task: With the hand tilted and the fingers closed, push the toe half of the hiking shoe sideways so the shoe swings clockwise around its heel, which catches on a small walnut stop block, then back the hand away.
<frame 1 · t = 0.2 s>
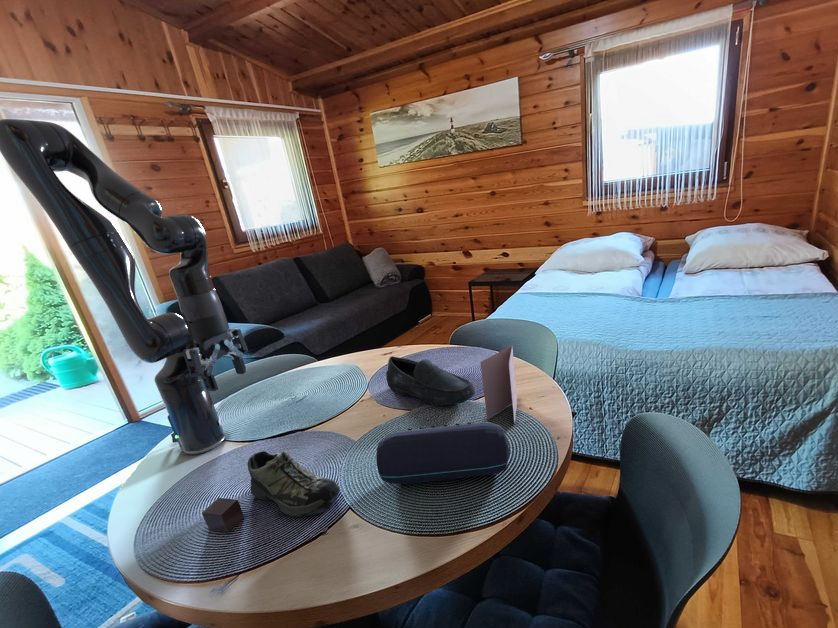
hand: (228, 381, 98), 17 cm above the table, tool pointing down, fingers open, 8 cm apart
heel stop: (227, 523, 79), on the table
portable speaker: (447, 474, 85), on the table
hiking shoe: (295, 498, 84), on the table
greeting card: (511, 413, 104), on the table
loafer: (429, 396, 118), on the table
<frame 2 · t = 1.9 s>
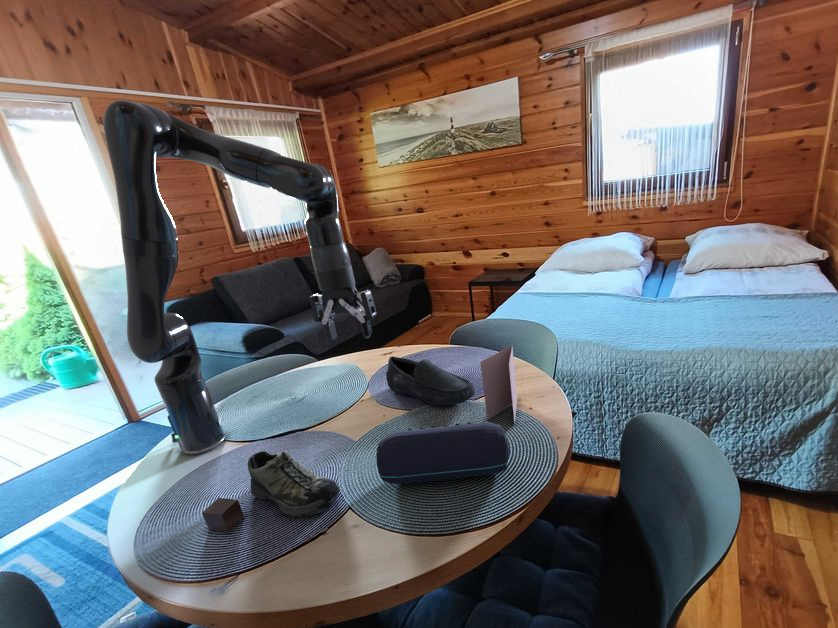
hand: (350, 338, 96), 23 cm above the table, tool pointing down, fingers open, 8 cm apart
nothing on the table moved.
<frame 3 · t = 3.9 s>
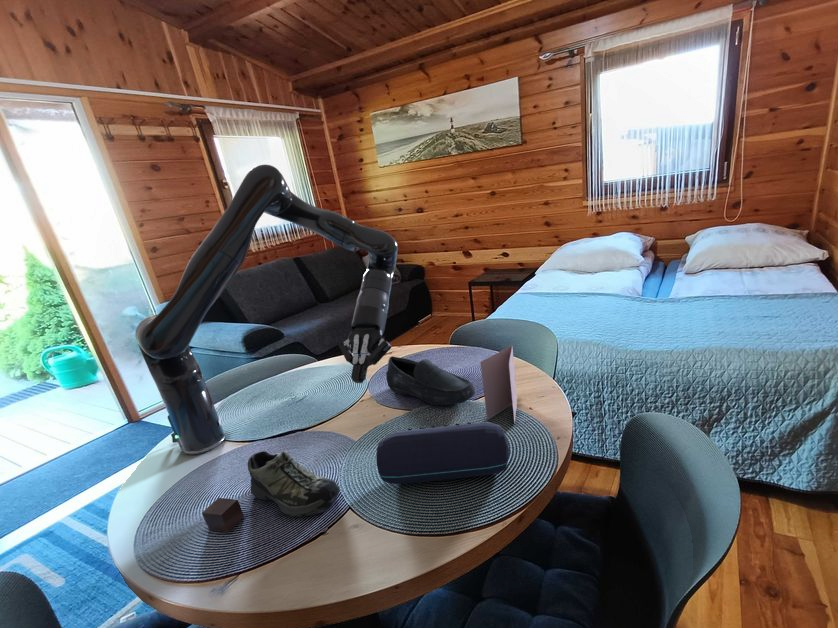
hand: (357, 382, 95), 15 cm above the table, tool tilted 45°, fingers closed
nothing on the table moved.
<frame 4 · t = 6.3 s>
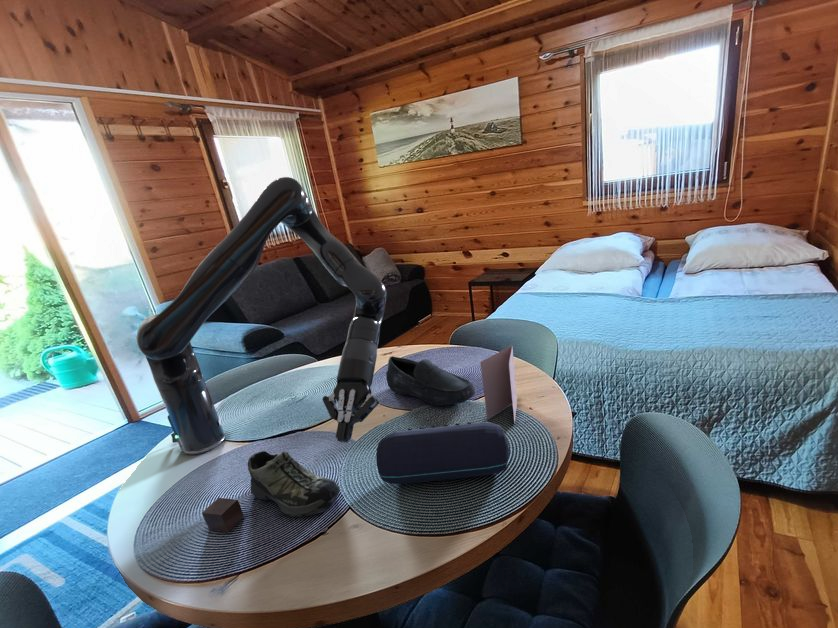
hand: (342, 441, 89), 6 cm above the table, tool tilted 45°, fingers closed
nothing on the table moved.
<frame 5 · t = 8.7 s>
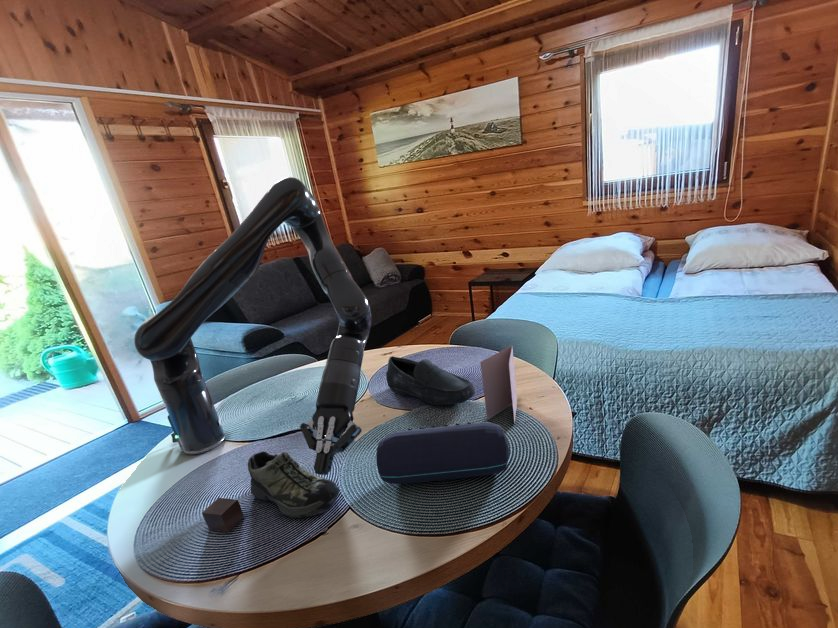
hand: (321, 474, 81), 5 cm above the table, tool tilted 45°, fingers closed
hiking shoe: (295, 498, 84), on the table, touching gripper
everything else where it was.
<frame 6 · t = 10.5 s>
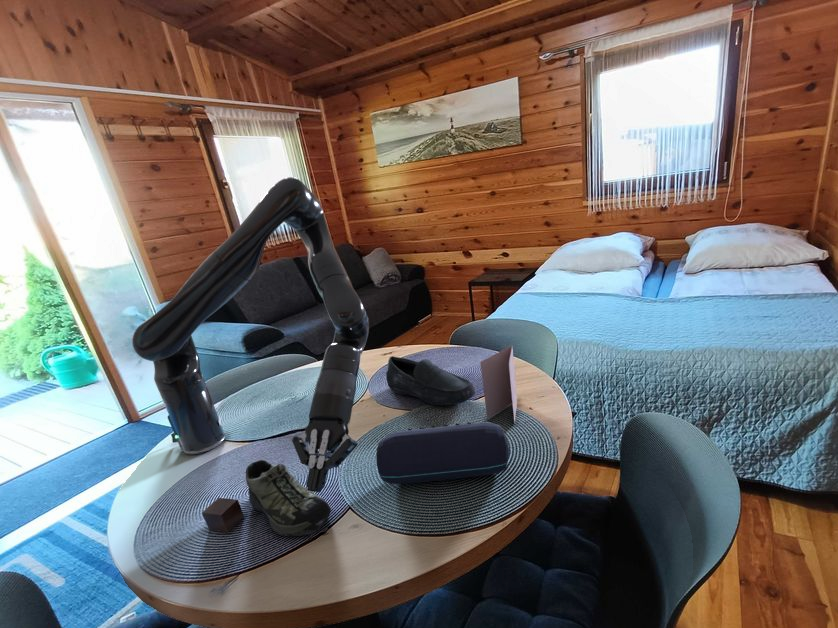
hand: (313, 491, 76), 5 cm above the table, tool tilted 45°, fingers closed
hiking shoe: (289, 512, 80), on the table, touching gripper
everything else where it was.
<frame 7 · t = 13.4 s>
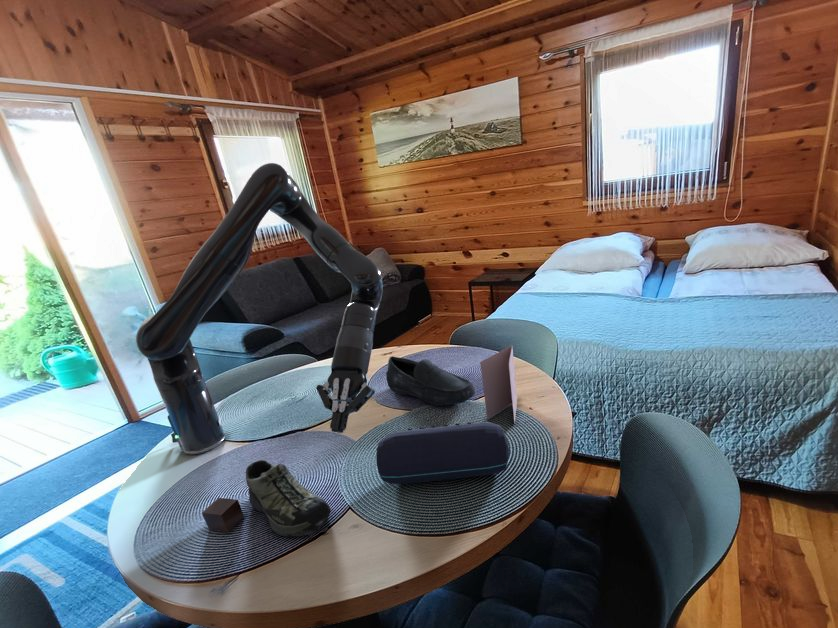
hand: (337, 432, 86), 9 cm above the table, tool tilted 45°, fingers closed
hiking shoe: (289, 512, 80), on the table
everything else where it was.
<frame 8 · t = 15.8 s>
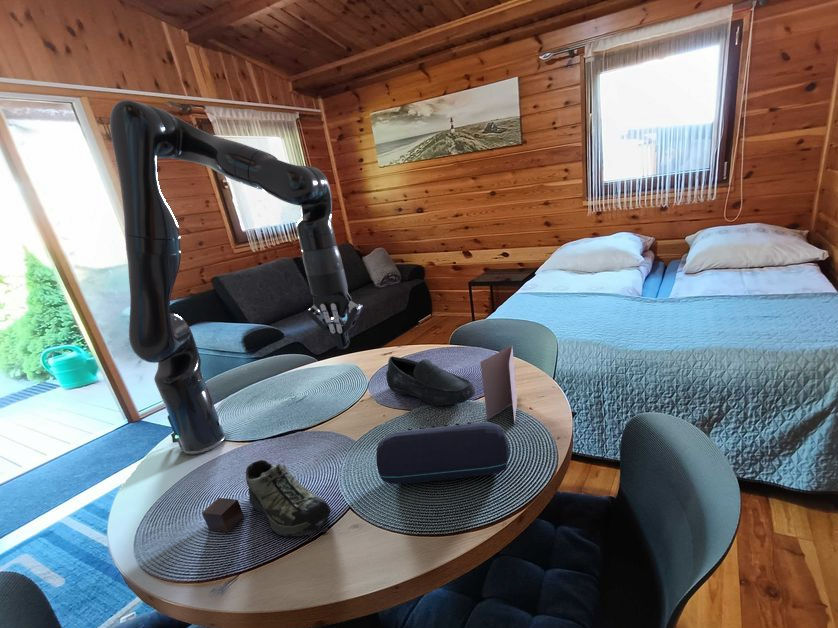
hand: (343, 347, 95), 22 cm above the table, tool pointing down, fingers closed
nothing on the table moved.
at the end: hiking shoe inside the target area (2.5 cm from its centre), on the table; hiking shoe tilted 0°; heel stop moved 0.0 cm from its start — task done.
